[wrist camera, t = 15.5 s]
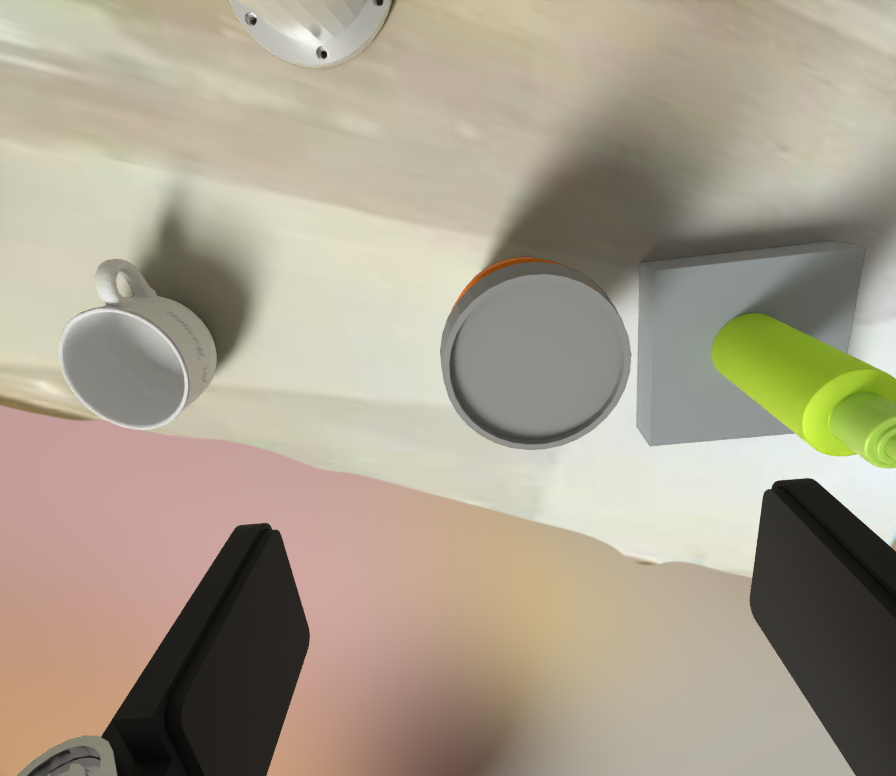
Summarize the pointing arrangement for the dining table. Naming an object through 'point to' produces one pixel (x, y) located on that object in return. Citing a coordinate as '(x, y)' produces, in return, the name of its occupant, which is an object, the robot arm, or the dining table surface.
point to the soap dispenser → (811, 387)
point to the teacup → (136, 353)
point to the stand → (709, 309)
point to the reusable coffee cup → (534, 354)
